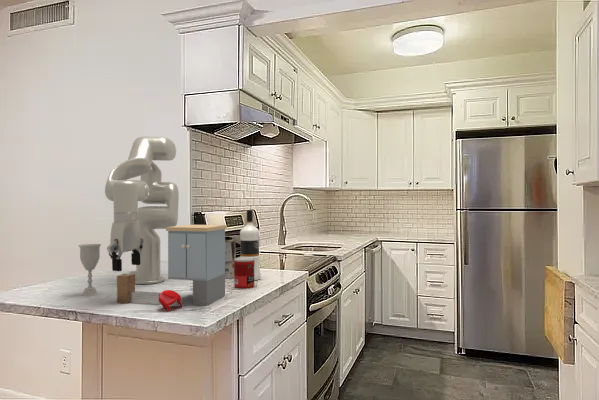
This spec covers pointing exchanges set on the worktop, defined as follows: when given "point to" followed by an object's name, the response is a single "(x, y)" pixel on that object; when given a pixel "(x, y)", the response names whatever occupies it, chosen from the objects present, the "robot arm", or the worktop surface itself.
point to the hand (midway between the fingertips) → (126, 267)
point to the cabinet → (198, 259)
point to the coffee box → (230, 258)
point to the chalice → (89, 264)
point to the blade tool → (133, 292)
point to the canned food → (244, 272)
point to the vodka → (250, 243)
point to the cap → (169, 298)
